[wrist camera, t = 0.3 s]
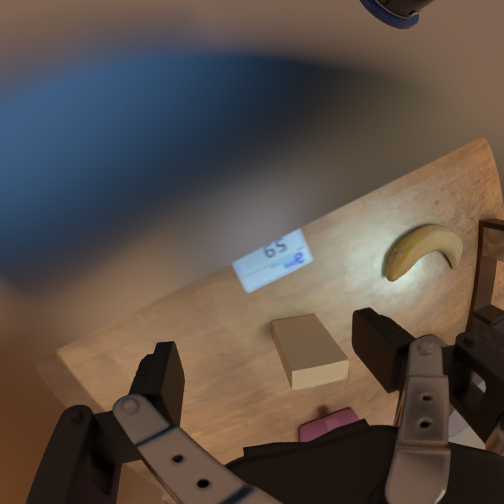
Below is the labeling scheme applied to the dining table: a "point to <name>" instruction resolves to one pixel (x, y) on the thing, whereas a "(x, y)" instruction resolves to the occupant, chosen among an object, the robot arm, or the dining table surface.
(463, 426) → the grey upright cylinder
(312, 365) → the cream book
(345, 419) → the teapot
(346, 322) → the dining table surface
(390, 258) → the fruit
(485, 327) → the book rack
